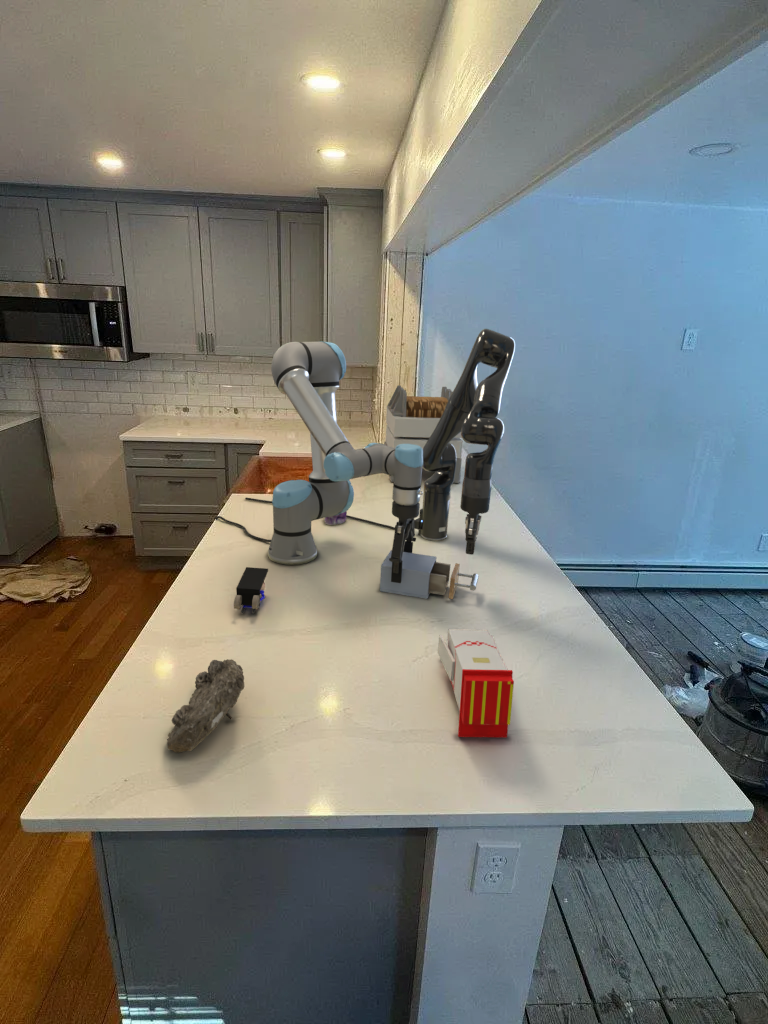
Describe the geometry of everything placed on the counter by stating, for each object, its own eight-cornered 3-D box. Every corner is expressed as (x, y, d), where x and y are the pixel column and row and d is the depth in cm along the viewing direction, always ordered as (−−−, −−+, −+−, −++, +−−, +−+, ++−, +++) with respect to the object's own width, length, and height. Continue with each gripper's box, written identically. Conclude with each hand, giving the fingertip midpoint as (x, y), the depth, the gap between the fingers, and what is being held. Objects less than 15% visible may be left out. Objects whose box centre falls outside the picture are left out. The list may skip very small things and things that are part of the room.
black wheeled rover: (260, 622, 143) (270, 588, 156) (258, 597, 140) (268, 565, 153) (233, 621, 143) (245, 588, 156) (231, 597, 139) (243, 564, 153)
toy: (488, 613, 130) (523, 677, 101) (484, 667, 133) (517, 744, 104) (435, 612, 130) (455, 676, 101) (432, 666, 133) (451, 743, 103)
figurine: (328, 527, 202) (328, 487, 197) (317, 518, 211) (318, 479, 206) (352, 524, 206) (353, 484, 201) (341, 515, 215) (342, 477, 210)
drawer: (477, 586, 162) (480, 566, 160) (474, 602, 153) (476, 581, 151) (415, 576, 166) (416, 557, 164) (408, 591, 157) (409, 571, 155)
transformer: (382, 463, 289) (386, 382, 275) (445, 464, 293) (451, 384, 279) (390, 482, 257) (394, 392, 243) (460, 483, 261) (468, 394, 247)
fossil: (192, 660, 117) (244, 628, 112) (224, 691, 120) (276, 661, 115) (142, 746, 98) (202, 712, 93) (182, 779, 101) (242, 748, 96)
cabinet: (434, 581, 166) (436, 556, 163) (427, 598, 156) (429, 572, 153) (389, 574, 169) (390, 549, 166) (379, 591, 159) (380, 565, 156)
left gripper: (409, 518, 142) (404, 593, 149) (428, 490, 165) (423, 556, 172) (381, 514, 144) (377, 589, 151) (403, 486, 167) (398, 552, 174)
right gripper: (488, 502, 142) (481, 565, 148) (492, 487, 154) (485, 546, 160) (458, 498, 143) (452, 560, 149) (464, 484, 155) (459, 542, 161)
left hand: (401, 571), depth 162 cm, fingers open, 13 cm apart
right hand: (469, 553), depth 154 cm, fingers closed
